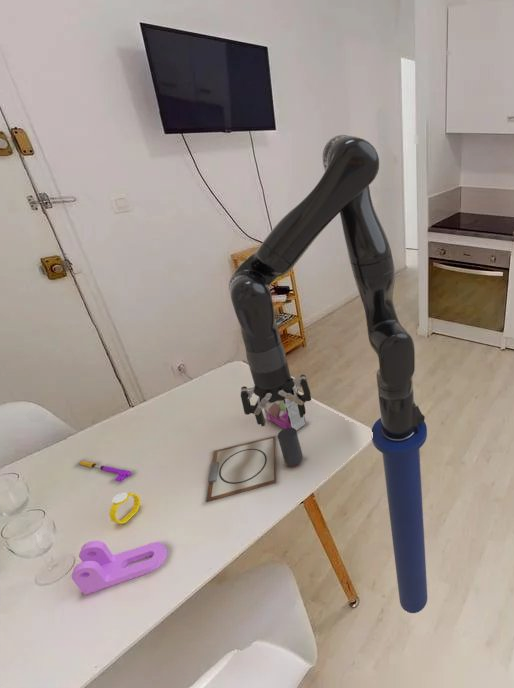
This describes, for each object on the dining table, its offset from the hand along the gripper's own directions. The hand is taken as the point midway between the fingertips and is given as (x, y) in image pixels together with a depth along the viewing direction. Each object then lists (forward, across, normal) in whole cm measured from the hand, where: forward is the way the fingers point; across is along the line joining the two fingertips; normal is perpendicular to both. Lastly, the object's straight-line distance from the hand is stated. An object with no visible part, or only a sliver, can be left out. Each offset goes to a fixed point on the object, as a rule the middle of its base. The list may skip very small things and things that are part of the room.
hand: (282, 419), depth 95 cm
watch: (+14, -35, -3) cm, 38 cm away
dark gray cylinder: (+14, 0, 0) cm, 14 cm away
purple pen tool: (+15, -45, +14) cm, 49 cm away
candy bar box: (+14, -1, +16) cm, 21 cm away
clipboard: (+14, -12, +3) cm, 19 cm away
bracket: (+14, -32, -16) cm, 38 cm away
